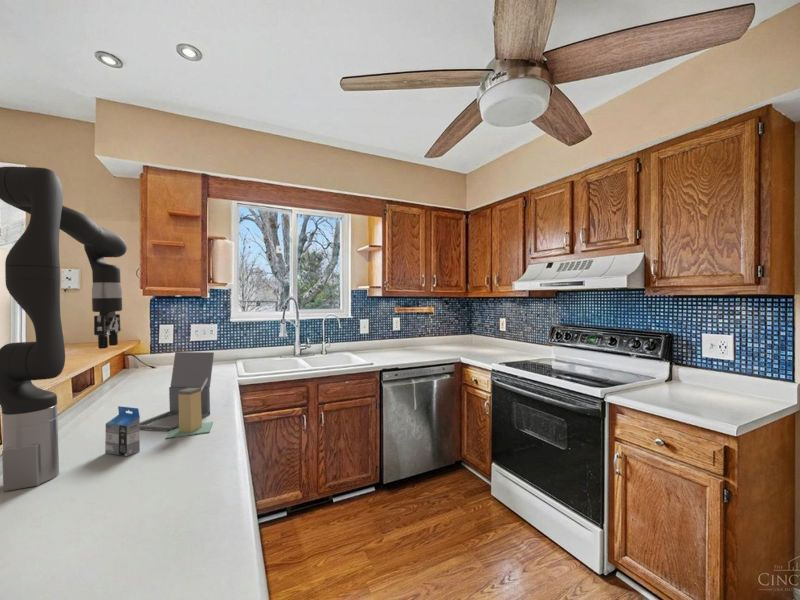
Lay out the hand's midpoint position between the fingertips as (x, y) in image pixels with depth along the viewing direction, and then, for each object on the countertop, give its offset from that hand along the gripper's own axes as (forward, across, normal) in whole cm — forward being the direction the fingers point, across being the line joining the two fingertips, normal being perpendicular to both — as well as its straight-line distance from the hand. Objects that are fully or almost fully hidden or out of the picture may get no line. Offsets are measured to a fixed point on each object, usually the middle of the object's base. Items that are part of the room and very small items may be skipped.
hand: (108, 346), depth 115 cm
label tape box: (+28, -20, -9) cm, 36 cm away
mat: (+28, -9, -24) cm, 38 cm away
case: (+28, +5, -17) cm, 33 cm away
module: (+28, -9, -24) cm, 38 cm away
